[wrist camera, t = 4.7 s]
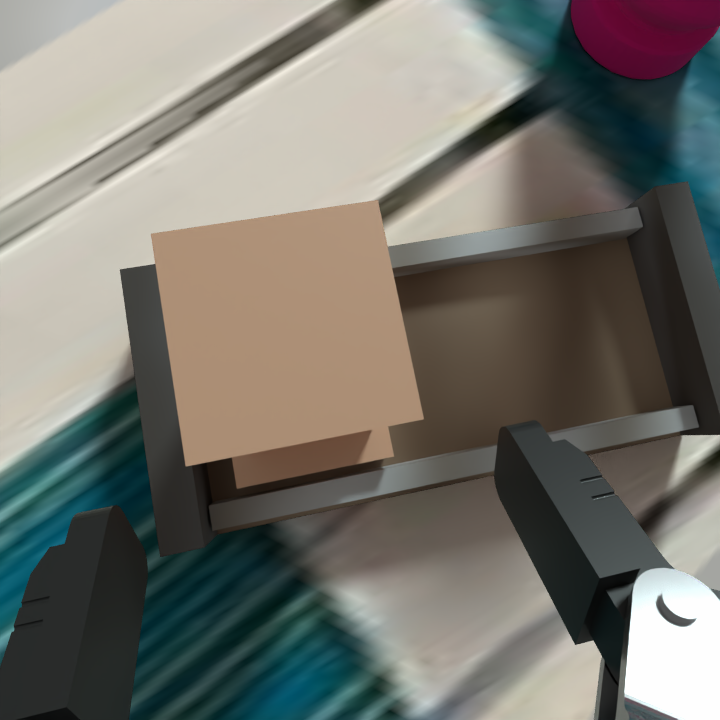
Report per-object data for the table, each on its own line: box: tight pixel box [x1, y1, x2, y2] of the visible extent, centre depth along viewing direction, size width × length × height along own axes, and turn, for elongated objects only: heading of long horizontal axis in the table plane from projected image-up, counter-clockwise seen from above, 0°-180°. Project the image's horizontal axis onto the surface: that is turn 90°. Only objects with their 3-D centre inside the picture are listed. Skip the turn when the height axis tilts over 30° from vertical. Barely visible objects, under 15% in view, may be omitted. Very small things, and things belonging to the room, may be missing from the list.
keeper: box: [151, 200, 424, 489], centre depth 14 cm, size 5×6×10 cm
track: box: [120, 182, 720, 557], centre depth 19 cm, size 20×9×4 cm, turn 102°
